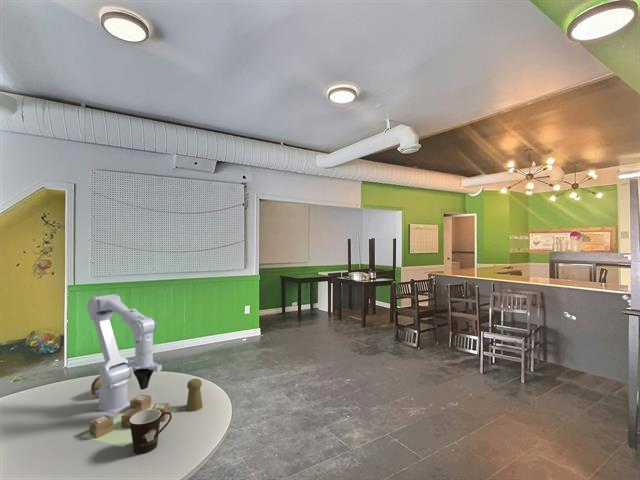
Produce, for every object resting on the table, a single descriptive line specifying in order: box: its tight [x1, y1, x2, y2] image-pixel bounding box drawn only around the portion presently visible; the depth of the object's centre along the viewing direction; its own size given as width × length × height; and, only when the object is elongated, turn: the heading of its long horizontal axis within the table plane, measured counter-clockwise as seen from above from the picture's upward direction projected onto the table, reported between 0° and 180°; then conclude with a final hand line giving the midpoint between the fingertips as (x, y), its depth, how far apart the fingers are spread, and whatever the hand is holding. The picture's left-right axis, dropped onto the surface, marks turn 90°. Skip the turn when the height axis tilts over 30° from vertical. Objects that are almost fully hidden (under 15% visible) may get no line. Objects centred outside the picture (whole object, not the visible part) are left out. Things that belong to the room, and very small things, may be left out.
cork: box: [185, 378, 204, 413], centre depth 125 cm, size 6×6×11 cm
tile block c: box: [129, 394, 152, 410], centre depth 124 cm, size 5×5×4 cm
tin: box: [90, 375, 128, 398], centre depth 139 cm, size 15×3×8 cm, turn 155°
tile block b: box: [152, 402, 170, 422], centre depth 118 cm, size 5×5×4 cm
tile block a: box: [88, 414, 113, 438], centre depth 109 cm, size 5×5×4 cm
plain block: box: [121, 408, 144, 428], centre depth 114 cm, size 5×5×4 cm
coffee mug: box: [130, 409, 173, 455], centre depth 101 cm, size 12×9×10 cm
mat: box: [80, 403, 179, 448], centre depth 115 cm, size 18×24×1 cm
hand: (144, 388), depth 119 cm, fingers closed
